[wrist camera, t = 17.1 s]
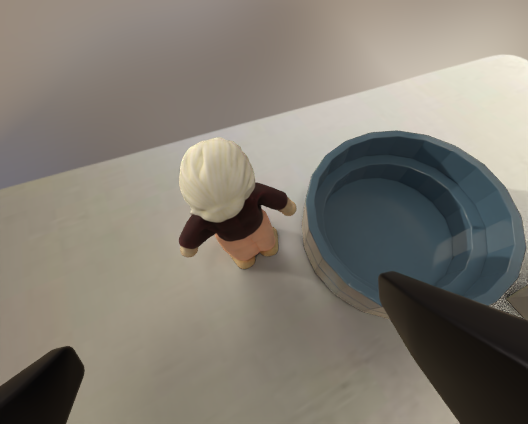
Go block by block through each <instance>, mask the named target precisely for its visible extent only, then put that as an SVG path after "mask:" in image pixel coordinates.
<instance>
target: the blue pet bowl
mask: <svg viewBox="0 0 528 424" xmlns="http://www.w3.org/2000/svg"><path fill="white" fill-rule="evenodd" d="M302 234H303V244H304V249H305V251H306V254H307V256H308V258H309V260H310V262H311V265H312V267H313V269H314V271H315V272H316V274H317V275H318V276H319V277H320V278H321V280H322V281H323V282H324V283H325V284H326V285H327V286H328V288H329V289H330V290H331V291H332V292H333V293H335V295H336V296H338V297H339V298H341V299H342V300H344V301H346V302H347V303H349V304H350V305H352V306H353V307H355V308H356V309H358V310H360V311H362V312H365V313H369V314H372V315H376V316H379V317H383V318H386V319H390V318H389V316H388V315H387V313H386V311H385V310H384V308H383V306H382V304H381V302H380V299H379V284H378V277H379V275H380V274H381V273H385V272H389V271H395V272H398V273H401V274H403V275H406V276H409V277H412V278H414V279H417V280H420V281H422V282H425V283H428V284H431V285H433V286H436V287H439V288H441V289H444V290H447V291H449V292H452V293H455V294H458V295H460V296H463V297H466V298H468V299H471V300H474V301H477V302H479V303H482V304H485V305H487V306H489V305H492V304H494V303H495V302H497V301H498V300H499V299H500V297H501V296H502V295H503V294H504V293H505V292H506V291H507V290H508V289H509V287H510V286H511V285H512V284H513V283H514V282H515V281H516V280H517V278H518V276H519V272H520V269H521V265H522V262H523V258H524V254H525V251H526V242H525V235H524V229H523V222H522V217H521V215H520V213H519V211H518V209H517V207H516V205H515V204H514V202H513V200H512V198H511V196H510V194H509V192H508V190H507V189H506V187H505V186H504V185H503V184H502V183H501V182H500V181H499V179H498V178H497V177H496V176H495V175H494V174H493V173H492V172H491V171H490V170H489V169H488V168H487V167H486V166H485V165H484V164H483V163H481V162H480V161H478V160H477V159H475V158H474V157H472V156H471V155H469V154H468V153H466V152H465V151H463V150H461V149H460V148H458V147H456V146H455V145H452V144H449V143H447V142H444V141H442V140H439V139H436V138H434V137H431V136H428V135H424V134H417V133H410V132H404V131H385V132H371V133H368V134H365V135H362V136H359V137H356V138H353V139H350V140H347V141H345V142H344V143H342V144H341V145H339V146H338V147H337V148H335V149H334V150H333V151H331V152H330V153H328V154H327V155H326V156H325V157H324V159H323V160H322V161H321V163H320V164H319V166H318V167H317V169H316V170H315V171H314V173H313V174H312V176H311V180H310V184H309V188H308V192H307V196H306V200H305V206H304V212H303V218H302Z"/></svg>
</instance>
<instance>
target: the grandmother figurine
mask: <svg viewBox="0 0 528 424" xmlns="http://www.w3.org/2000/svg"><path fill="white" fill-rule="evenodd" d="M179 186H180V190H181V193H182V195H183V197H184V199H185V201H186V202H187V203H188V204H189V205H190V207H191V212H190V214H192V216H191V217H190V218H189V220H188V221H187V223H186V225H185V227H184V229H183V231H182V233H181V235H180V238H179V244H180V245H181V247H180V251H181V254H182V255H183V256H185V257H193V256H194V255H195V254H196V253H197V251H198V247H199V246H200V245H201V244H202V243H203V242H205V241H206V240H207V239H208V238H209V237H211V236H213V235H214V234H215V237H216V238H217V240H218V242H219V243H220V245H221V246H222V248H223V249H224V250H225V251H226V252H227V253H228V254H230V256H231V257H232V259H233V260H234V261H235V263H236V264H237V265H238V267H240V268H241V269H247V268H249V267H251V266H252V265H253V264H254V263H255V255H256V254H258V253H259V252H260V253H261V254H262V255H264V256H272V255H275V254H276V253H277V251H278V234H277V231H276V229H275V228H274V227H272V225H271V223H270V220H269V218H268V216H267V214H266V212H265V211H264V210H262V209H261V205H263V206H266V207H269V208H271V209H275V210H278V211H280V212H282V213H283V214H284V215H286V216H292V215H293V214H294V213H295V212H296V205H295V203H294V202H293V201H291V200H290V199H289V198H288V197H287V195H286V193H284V192H282V191H280V190H277V189H275V188H272V187H269V186H266V185H263V184H260V183H255V176H254V171H253V168H252V166H251V164H250V162H249V159H248V157H247V156H246V155H245V153H244V152H242V150H241V147H240V146H238V145H236V144H235V143H234V142H233V141H226V140H224V139H223V138H213V139H210V140H207V141H201V142H200V143H198V144H196V145H194V146H192V147H190V148H189V149H188V150H187V151H186V153H185V155H184V157H183V160H182V162H181V166H180V176H179Z"/></svg>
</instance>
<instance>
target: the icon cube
mask: <svg viewBox="0 0 528 424" xmlns="http://www.w3.org/2000/svg"><path fill="white" fill-rule="evenodd" d="M507 300H508V301H509V302H510V303H511V304H512V306H513V307H514V308H515V309H516V310H517V311H518V312H519V313H520V314H521V315H522V316H523V318H524V319H525V320H528V285H527V286H525V287H524V288H522V289H521V290H519V291H517V292H516V293H514V294H513V295H511V296H510V297H508V298H507Z"/></svg>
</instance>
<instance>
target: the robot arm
mask: <svg viewBox="0 0 528 424" xmlns="http://www.w3.org/2000/svg"><path fill="white" fill-rule="evenodd" d="M378 284H379V299H380V302H381V304H382V306H383V308H384V310H385V311H386V313H387V315H388V316H389V318H390V320H391V322H392V323H393V325H394V327H395V328H396V330H397V332H398V334H399V335H400V337H401V339H402V340H403V342H404V344H405V346H406V347H407V349H408V351H409V352H410V354H411V355H412V357H413V358H414V360H415V361H416V363H417V364H418V366H419V367H420V368H421V370H422V371H423V373H424V374H425V375H426V377H427V378H428V380H429V381H430V382H431V384H432V385H433V387H434V388H435V389H436V391H437V392H438V393H439V395H440V396H441V398H442V399H443V400H444V402H445V403H446V405H447V406H448V407H449V409H450V410H451V412H452V413H453V414H454V416H455V417H456V419H457V420H458V421H459V423H460V424H528V320H525V319H523V318H520V317H517V316H515V315H512V314H509V313H506V312H504V311H501V310H498V309H496V308H493V307H490V306H487V305H485V304H482V303H479V302H477V301H474V300H471V299H468V298H466V297H463V296H460V295H458V294H455V293H452V292H449V291H447V290H444V289H441V288H439V287H436V286H433V285H431V284H428V283H425V282H422V281H420V280H417V279H414V278H412V277H409V276H406V275H403V274H401V273H398V272H395V271H389V272H385V273H381V274H380V275H379V277H378ZM84 372H85V370H84V365H83V363H82V362H81V360H80V358H79V357H78V355H77V354H76V352H75V350H74V349H73V348H72V347H70V346H65V347H61V348H56V349H53V350H51V351H50V352H48V353H47V354H45V355H44V356H43V357H41V358H40V359H38V360H37V361H36V362H34V363H33V364H31V365H30V366H28V367H27V368H26V369H24V370H23V371H21V372H20V373H19V374H17V375H16V376H14V377H13V378H11V379H10V380H9V381H7V382H6V383H4V384H3V385H1V386H0V424H66V422H67V420H68V417H69V414H70V412H71V409H72V406H73V403H74V401H75V398H76V395H77V393H78V390H79V387H80V384H81V382H82V379H83V376H84Z"/></svg>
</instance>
